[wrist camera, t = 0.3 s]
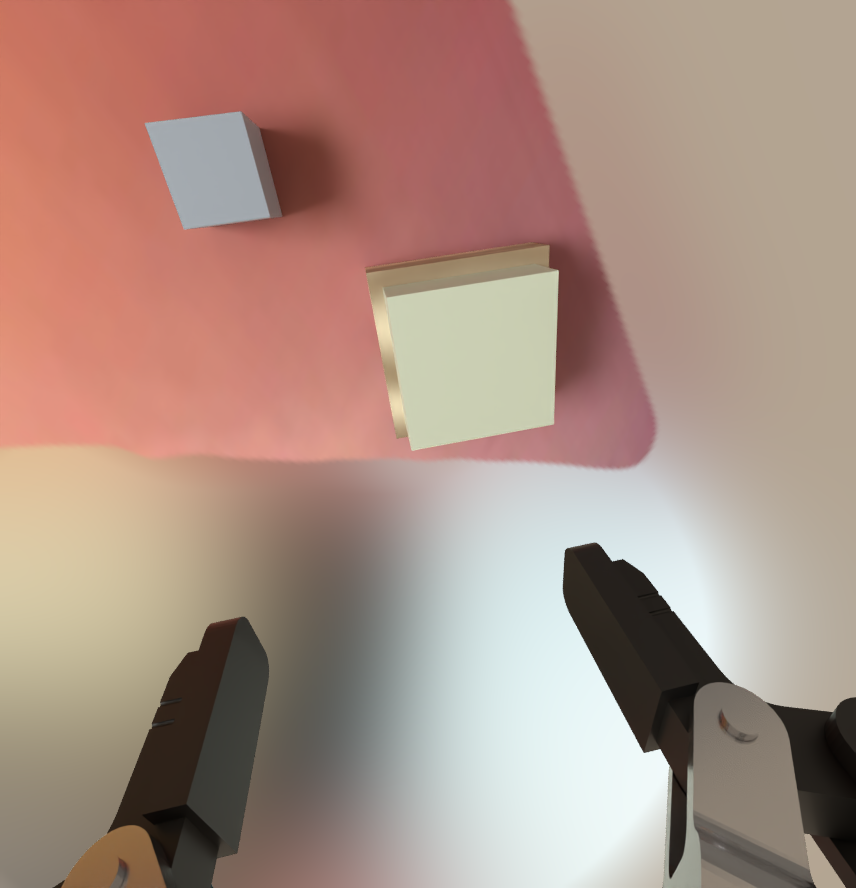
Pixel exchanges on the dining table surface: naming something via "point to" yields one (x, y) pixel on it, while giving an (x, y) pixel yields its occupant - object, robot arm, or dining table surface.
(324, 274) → the dining table surface
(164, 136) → the slate cube
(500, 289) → the top block
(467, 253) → the base block
